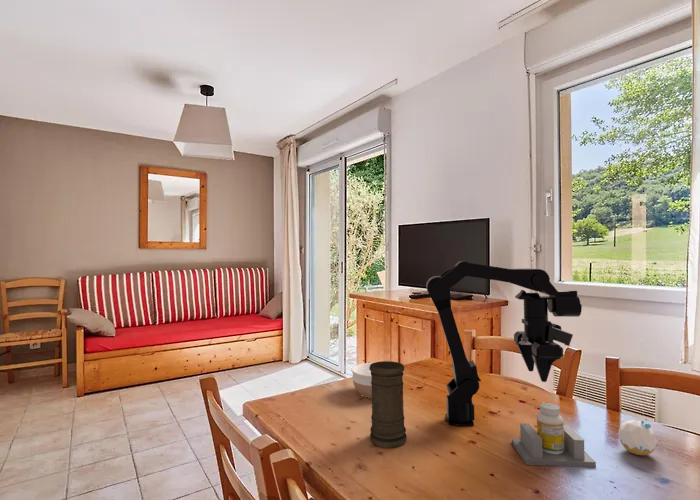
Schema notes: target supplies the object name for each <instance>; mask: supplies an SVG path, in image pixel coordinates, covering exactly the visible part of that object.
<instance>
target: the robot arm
mask: <svg viewBox="0 0 700 500" xmlns="http://www.w3.org/2000/svg"><path fill="white" fill-rule="evenodd" d="M465 277H471V278H478V279H483V280H484V279H486V280H490V281H491V280H492V281H498V282H504V283H509V284H513V285H515V286H519V287H521V288H525V289H527V290H531V291H533V292H526V290H525V289H520V291H519V293H517V294H515V296H514V297H515V299H516V300H521V301H523V318H521V323H522V324H523V326H524V327H523V328H524V329H523V330H522V331H521V330H517V331H516V332H515V333H514V334H513V341H514V342H515V345H516V347H517V349H518V351H519V353H520V355H521V358H522V359H523V361H524V364H525V366H526V368H527V370H528V371H529V372H534V369H535V367H536V370H537V373H538V377H539V379H540V381H541V382H542V383H547V381H548V378H549V375H550V372H551V369H552V366H553V363H554V362H556V361H557V360H560V359H561V358H563V357H564V348H563V346H561V345H560V344H558V343H556V342H559V343H561V344H564V345H565V346H567V347H570V344H571V341H572V339H573V336H574V334H572V333H570V332H568V331H566V330H563V329H562V326H561V325H559V324H556V323H554V322H553V323H552V321H550V320H549V313H551V314H552V316H553V317H558V318H559V317H568V318H569V317H571V318H572V317H573V318H575V317H580V316H581V314H582V307H583V305H582V303H581V300H580V297H579V296H578V291H577V290H575V289H569V290H558V289H556V287H555V286H554V285H553V284H552V282H551V281H550V275H549V273H547V271H546V270H544V269H540V268H533V267H532V268H528V267H527V268H507V267H506V268H505V267H499V266H492V265H486V264H478V263H473V262H469V261H465V260H461V261H458V262H457V263H456V264H454V265H453V266H452V267H451V268H449V269H447V270H445V271H444V272H443V273H441V274H440V275H439V276H438V275H434V276H431V277H429V279H428V280H427V281H426V283H425V284H426V286H425V287H426V288H425V289H426V291H427V292H428V295H429V297H430V298H431V301H432V302H433V304H434V307H435V309H436V311H437V312H438V313H437V314H438V316H439V320H440V323H441V326H442V330H443V333H444V335H445V339H446V343H447V346H448V350H449V353H450V356H451V360H452V372H453V373H452V374H453V378H452V379H451V380H450V381H449V382H448V383H447V384H445V385H446V389H447V393H448V394H447V395H446V413H445V418H446V421H447V423H448V425H449V426H475V423H474V422H475V416H476V415H475V404H474V403H473V397H474V395H476V394H477V393H478V391H479V389H480V383H481V381H482V379H481V378H480V376H479V374H478V369H477V368H478V367H477V365H476V363H475V362H474V360H468V358H467V355H466V352H465V349H464V346H463V343H462V339H461V336H460V332H459V330H458V326H457V324H456V323H457V322H456V320H455V317H454V313H453V311H452V301H451V300H452V299H451V291H450V289H451V288H452V287H454V286H455V285H457V283H459V282H460V281H462V280H463V279H464V278H465ZM538 292H539V293H541V294H545V295H548V296H545V295H544V296H543V295H542V296H541V295H540V294H539V293H538ZM548 312H549V313H548ZM554 341H556V342H554ZM479 382H480V383H479Z"/></svg>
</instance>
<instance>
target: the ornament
mask: <svg viewBox="0 0 700 500" xmlns="http://www.w3.org/2000/svg"><path fill="white" fill-rule="evenodd" d="M645 421H648V419H647V418H645V419H644V420H634V419H633V420H632V419H631V420H630V419H628V420H626V421H625V422H623V423H622V424H620V426H619V430H618V434H617V436H618V438H619V442H620V444H621V445H622V447H624V449H625V450H627V451H628V452H630V453H631V454H634V455H637V456H647V455H650V454H652V453H653V452H654V451H655V449H656V447H657V436H656V433H655V432H654V430H653V429H652V428H651V427H652V425H651V423H649V422H645Z"/></svg>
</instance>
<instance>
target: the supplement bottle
mask: <svg viewBox="0 0 700 500" xmlns="http://www.w3.org/2000/svg"><path fill="white" fill-rule="evenodd" d="M539 411H540V412H539V413H538V414H537V415H536V430H537V431H536V432H537V434H538V435H539V436H540V437H541V438H542V451H543V452H545V453H548V454H553V455H559V454H562V453H563V452H564V424H565V421H564V418H563V417H562V416H561V415H560V414H561V408H560V406H559V405H558V404H556V403H551V402H541V403H540V404H539Z"/></svg>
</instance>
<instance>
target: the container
mask: <svg viewBox="0 0 700 500" xmlns="http://www.w3.org/2000/svg"><path fill="white" fill-rule="evenodd" d="M371 363H372V364H371V365H370V368H369V369H370V371H371V376H372V381H371V385H372V399H371V426H370V434H369V438H370V441H371V443H372V444H373V445H374V446H375V445H376V446H378V447H379V448H380V447H381V448H387V449H388V448H389V449H390V448H397V447H400V446H403V445H404V444H405V443H406V441H407V439H408V438H407V437H408V436H407V434H406V432H407V429H406V427H405V415H404V413H405V412H404V411H405V410H404V380H403V376H404V371H405V366H404V364H403V363H400V362H397V361H391V360H383V361H376V362H371Z"/></svg>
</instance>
